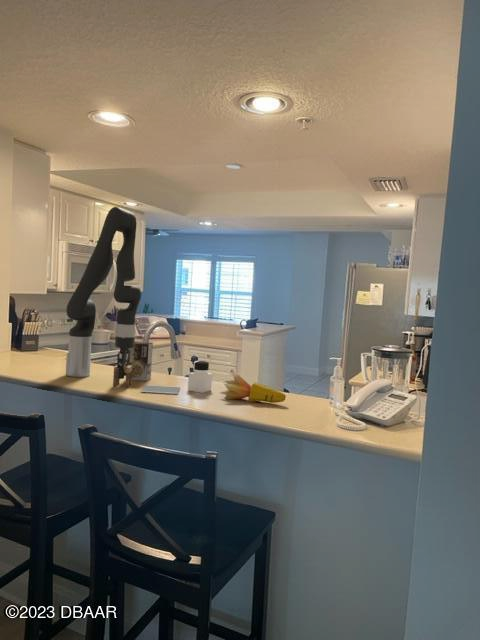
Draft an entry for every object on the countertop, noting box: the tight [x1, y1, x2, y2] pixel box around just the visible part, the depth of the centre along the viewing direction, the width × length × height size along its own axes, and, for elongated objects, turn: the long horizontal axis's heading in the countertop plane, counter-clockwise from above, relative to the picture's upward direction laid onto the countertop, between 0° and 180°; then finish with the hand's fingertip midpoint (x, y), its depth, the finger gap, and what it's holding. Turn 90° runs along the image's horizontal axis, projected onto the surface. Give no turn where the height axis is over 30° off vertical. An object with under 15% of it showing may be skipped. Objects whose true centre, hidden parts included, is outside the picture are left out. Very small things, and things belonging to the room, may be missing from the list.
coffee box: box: [129, 341, 154, 382], centre depth 198 cm, size 9×6×16 cm
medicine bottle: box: [187, 360, 213, 394], centre depth 183 cm, size 7×7×12 cm
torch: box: [219, 372, 287, 404], centre depth 172 cm, size 8×8×25 cm
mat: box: [140, 384, 181, 396], centre depth 179 cm, size 14×12×1 cm
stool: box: [112, 364, 132, 389], centre depth 182 cm, size 6×6×8 cm
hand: (122, 376), depth 182 cm, fingers closed on stool, 6 cm apart
